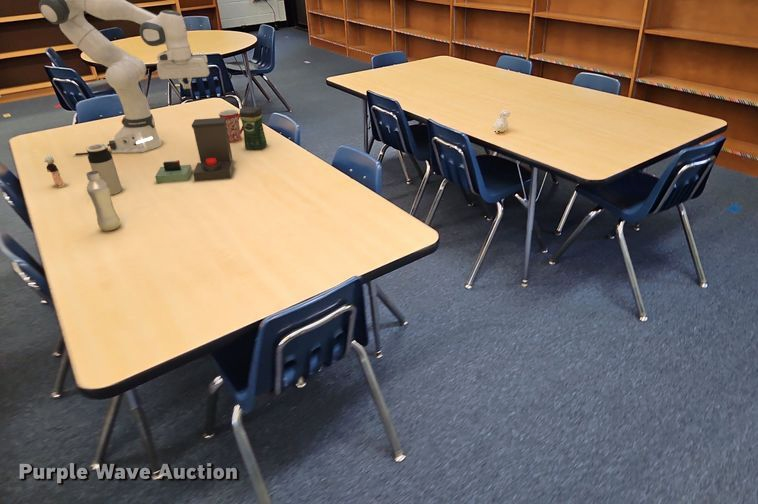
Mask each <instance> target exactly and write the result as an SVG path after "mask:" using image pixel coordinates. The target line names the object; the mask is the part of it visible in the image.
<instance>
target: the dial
mask: <svg viewBox="0 0 758 504" xmlns="http://www.w3.org/2000/svg"><path fill="white" fill-rule="evenodd" d="M162 165H163V167H164V169H165V171H177V170H181V166H180V165H181V163H180V160H172V161H170V160H169V161H164V162H163V163H162Z"/></svg>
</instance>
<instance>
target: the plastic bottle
mask: <svg viewBox="0 0 758 504" xmlns="http://www.w3.org/2000/svg"><path fill="white" fill-rule="evenodd" d="M85 175H86V178H87V181H88V183H87V185H86V192H87V194H88V197H89V198H90V200H91V202H92V204H93V207H94V210H95V215H96V221H97V226H98V227H99V229H100V230H102V231H105V232H109V231H113V230H117V229H118V228H119V227H120V224H121V219H120V218H119V217H120V216H119V215H118V213H117V212H116V210H115V206H114V204H113V201H112V195H110V188H109V185H108V184H107V183H106V182H105V181H104V180H102V179H101V175H100V173H99V171H92V170H91V171H88V172H86V173H85Z"/></svg>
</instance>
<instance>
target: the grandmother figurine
mask: <svg viewBox="0 0 758 504" xmlns="http://www.w3.org/2000/svg"><path fill="white" fill-rule="evenodd" d="M43 163H47V165H46V167H45V168H46V171H47V173H51V177H52V179H53V183H54V187H55V188H56V187H57V188H59V189H60V188H63V187H66V184H65V183H64V180H63V178H62V176H61V173H60V171H59V168H58V167H57V165H56V164H55V159H54V157H53V155H51V154H47V155H46V156H45V157H44V160H43Z"/></svg>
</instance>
